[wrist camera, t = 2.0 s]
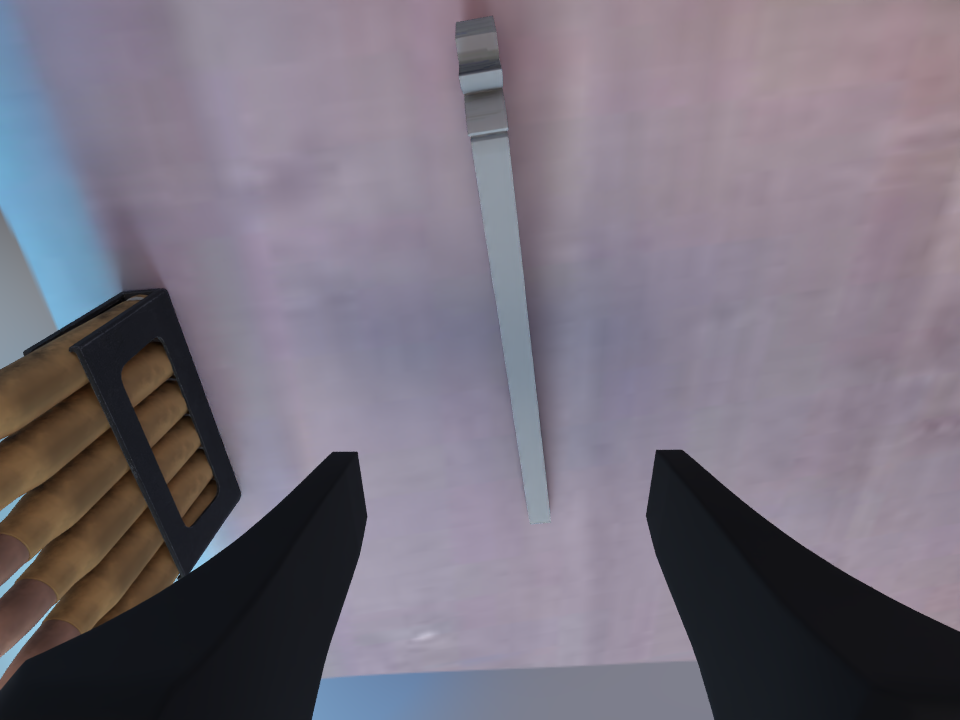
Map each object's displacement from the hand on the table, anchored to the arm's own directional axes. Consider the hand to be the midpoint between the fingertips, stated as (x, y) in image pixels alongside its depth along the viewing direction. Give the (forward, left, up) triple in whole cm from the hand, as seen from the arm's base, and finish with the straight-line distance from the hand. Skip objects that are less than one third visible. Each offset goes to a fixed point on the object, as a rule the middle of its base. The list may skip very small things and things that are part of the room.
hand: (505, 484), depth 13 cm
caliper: (-1, 0, -10) cm, 10 cm away
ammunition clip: (+13, +5, -10) cm, 17 cm away
